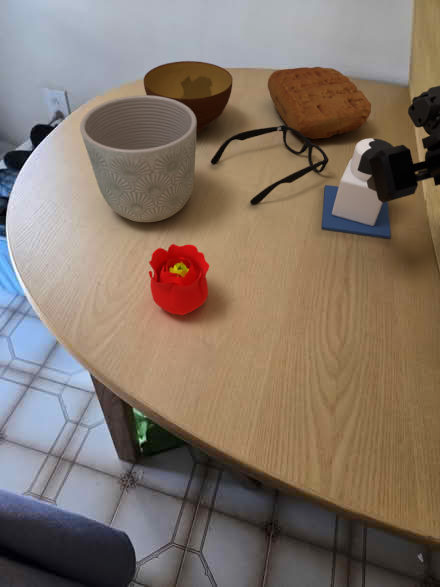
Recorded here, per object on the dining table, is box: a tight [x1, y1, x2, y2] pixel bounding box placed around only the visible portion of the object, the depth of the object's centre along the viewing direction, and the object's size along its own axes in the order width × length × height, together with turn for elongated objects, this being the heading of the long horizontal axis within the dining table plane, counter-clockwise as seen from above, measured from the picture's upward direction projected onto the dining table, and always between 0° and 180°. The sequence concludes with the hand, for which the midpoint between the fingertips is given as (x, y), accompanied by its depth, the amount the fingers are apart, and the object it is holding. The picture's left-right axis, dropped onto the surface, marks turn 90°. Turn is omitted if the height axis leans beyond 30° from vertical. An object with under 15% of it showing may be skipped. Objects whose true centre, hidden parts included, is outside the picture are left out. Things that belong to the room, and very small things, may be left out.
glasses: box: [210, 124, 330, 205], centre depth 80 cm, size 17×18×5 cm
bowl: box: [143, 60, 233, 134], centre depth 88 cm, size 18×18×10 cm
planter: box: [79, 94, 197, 223], centre depth 68 cm, size 17×17×15 cm
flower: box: [148, 243, 210, 316], centre depth 57 cm, size 8×8×8 cm
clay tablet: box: [267, 66, 372, 139], centre depth 91 cm, size 22×17×8 cm
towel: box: [321, 184, 392, 240], centre depth 73 cm, size 11×12×1 cm
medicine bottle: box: [332, 137, 394, 226], centre depth 68 cm, size 7×7×12 cm
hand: (393, 177), depth 63 cm, fingers open, 9 cm apart
